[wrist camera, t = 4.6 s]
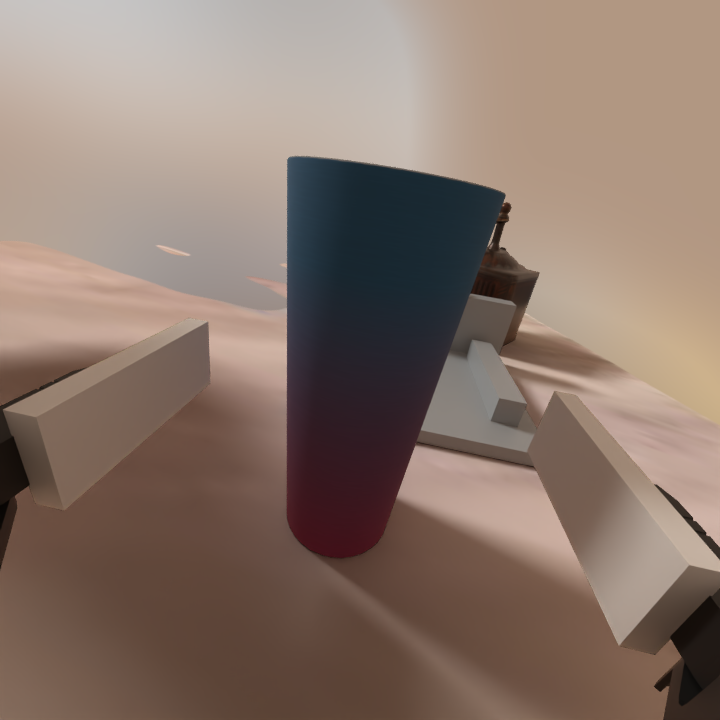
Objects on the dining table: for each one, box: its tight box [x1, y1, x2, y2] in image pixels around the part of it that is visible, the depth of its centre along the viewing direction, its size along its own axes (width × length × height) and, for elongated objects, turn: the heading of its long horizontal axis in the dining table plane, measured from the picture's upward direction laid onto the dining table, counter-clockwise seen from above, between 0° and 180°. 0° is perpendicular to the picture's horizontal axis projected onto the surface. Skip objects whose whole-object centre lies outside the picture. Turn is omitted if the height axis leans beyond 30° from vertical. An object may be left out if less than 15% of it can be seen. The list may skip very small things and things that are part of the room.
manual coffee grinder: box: [470, 202, 539, 346], centre depth 45 cm, size 16×11×18 cm
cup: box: [287, 156, 505, 558], centre depth 14 cm, size 7×7×15 cm
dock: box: [417, 294, 537, 466], centre depth 30 cm, size 18×18×9 cm
